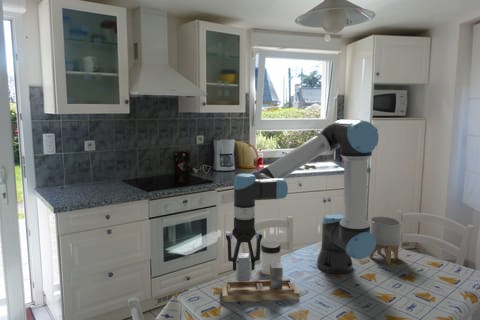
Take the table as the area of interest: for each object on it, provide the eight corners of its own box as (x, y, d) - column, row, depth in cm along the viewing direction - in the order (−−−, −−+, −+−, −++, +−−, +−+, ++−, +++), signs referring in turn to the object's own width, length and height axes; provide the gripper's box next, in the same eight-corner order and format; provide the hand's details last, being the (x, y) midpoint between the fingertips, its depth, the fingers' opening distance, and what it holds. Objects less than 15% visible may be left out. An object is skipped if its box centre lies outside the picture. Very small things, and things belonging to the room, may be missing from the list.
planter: (403, 263, 165) (405, 225, 163) (374, 263, 165) (376, 225, 163) (391, 252, 178) (394, 216, 175) (365, 251, 178) (366, 216, 176)
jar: (268, 277, 151) (268, 249, 149) (256, 270, 158) (256, 243, 156) (284, 272, 156) (285, 245, 154) (272, 265, 163) (273, 239, 161)
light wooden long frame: (294, 288, 142) (295, 260, 140) (299, 299, 134) (300, 269, 132) (222, 291, 140) (221, 262, 138) (222, 302, 132) (222, 271, 130)
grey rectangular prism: (248, 276, 137) (248, 253, 136) (249, 281, 133) (249, 257, 132) (237, 276, 137) (237, 253, 136) (238, 281, 133) (238, 257, 132)
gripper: (220, 220, 128) (220, 283, 131) (269, 219, 129) (268, 282, 132) (220, 214, 135) (220, 274, 138) (266, 213, 136) (265, 273, 140)
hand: (243, 278), depth 135 cm, fingers closed on grey rectangular prism, 4 cm apart
